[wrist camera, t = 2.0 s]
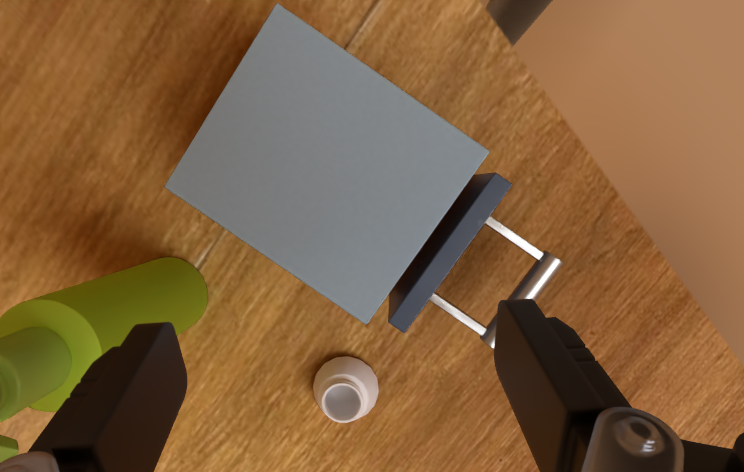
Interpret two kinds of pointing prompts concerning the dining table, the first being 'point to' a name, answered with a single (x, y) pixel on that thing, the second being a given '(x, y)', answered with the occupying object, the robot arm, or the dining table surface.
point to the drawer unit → (324, 165)
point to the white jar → (345, 389)
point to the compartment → (449, 247)
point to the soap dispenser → (86, 331)
